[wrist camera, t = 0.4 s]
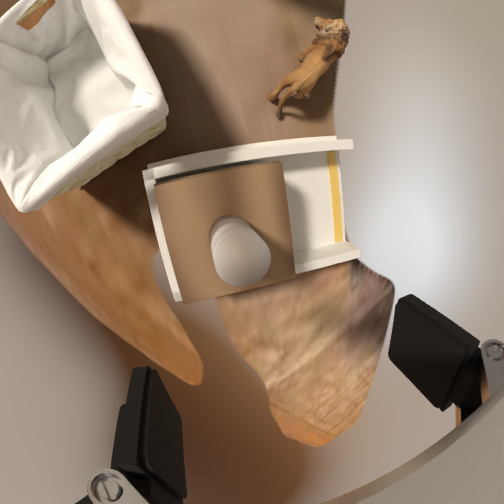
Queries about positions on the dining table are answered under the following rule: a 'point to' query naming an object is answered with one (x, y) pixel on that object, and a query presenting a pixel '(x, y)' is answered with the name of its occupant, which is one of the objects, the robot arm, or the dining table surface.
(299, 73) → the lion figurine
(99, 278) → the dining table surface
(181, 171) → the bay
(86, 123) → the storage basket
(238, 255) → the tan block with peg
